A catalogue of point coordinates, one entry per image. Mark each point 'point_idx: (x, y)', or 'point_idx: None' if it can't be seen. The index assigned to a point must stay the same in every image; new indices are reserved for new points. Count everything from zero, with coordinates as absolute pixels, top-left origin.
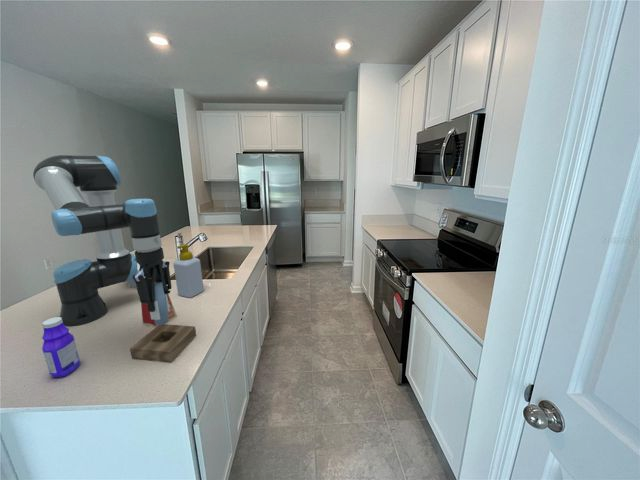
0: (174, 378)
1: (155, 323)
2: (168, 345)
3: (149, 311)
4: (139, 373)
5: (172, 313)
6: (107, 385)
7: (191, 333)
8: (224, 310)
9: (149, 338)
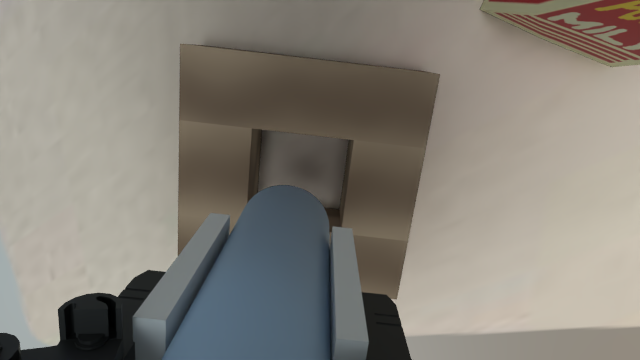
0: None
1: (248, 203)
2: None
3: (145, 276)
4: (119, 148)
5: (610, 55)
6: (33, 53)
7: None
8: (627, 318)
9: (279, 103)
